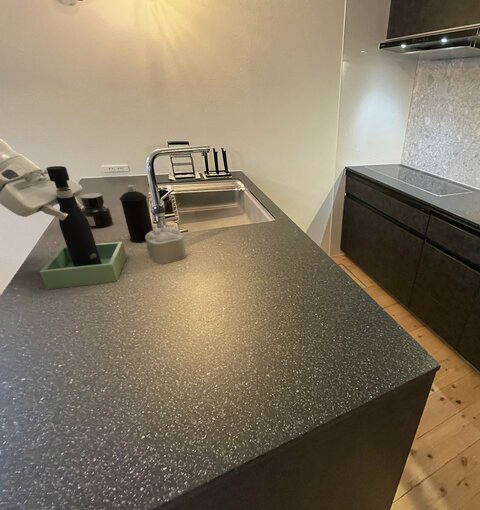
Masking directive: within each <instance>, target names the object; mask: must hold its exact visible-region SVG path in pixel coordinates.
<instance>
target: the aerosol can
mask: <svg viewBox="0 0 480 510" xmlns="http://www.w3.org/2000/svg"><path fill="white" fill-rule="evenodd" d="M135 188H136V187H135V185H133V184H129V185H127V190H128V191H127V192H124V193H123V194H122V195H121V196H120V197H119V201H120V203H121V207H122V211H123V214H124V219H125V223H126V227H127V230H128V235H129V241H130V242H131V243H132V242H133V243H138V242H139V243H146V239H145V236H146V235H147V234H148V233H149V232H150V231H153V230H154V228H153V223H152V218H151V214H150V209H149V205H148V199H147V198H148V196H147V195H145V194H144V193H142V192H140V191H136V189H135Z"/></svg>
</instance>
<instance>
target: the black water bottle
mask: <svg viewBox="0 0 480 510" xmlns="http://www.w3.org/2000/svg"><path fill="white" fill-rule="evenodd" d="M45 170H47V172H48V175H49V178H50V181H52V182H55V185H56V188H57V189H58V190H56V193H57V196H58V197H57V200H58V203H59V204H58V206H59V211H65V212H66V213H68V214H69V216H68V217H67V218H66V219H64V220H60V219H59V218H58V222H59V224H58V225H59V228H60V231H61V234H62V237H63V240H64V241H65V242H64V243H65V246H67V248H68V251H69V254H70V257H71V259H72V262H73V265H74V267H79V266H88V265H98V264H102V263H101V260H100V256H99V253H98V250H97V247H96V244H97V243H96V239H95V237H94V234H93V230H92V228H91V227H90V224H89V221H88V219H87V218H86V216H85V214H84V213H83V212H82V210H81V209H80V208H79V207H78V205H77V202H76V199H75V196H74V195H73V193H72V191H71V189H68V188H69V186H68V183H67V181H68V180H70V179H69V178H70V176H69V173H68V168H67V167H66V166H61V165H58V166H57V165H55V166H54V165H53V166H47V167H46V168H45Z"/></svg>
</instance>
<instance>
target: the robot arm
mask: <svg viewBox="0 0 480 510" xmlns="http://www.w3.org/2000/svg"><path fill="white" fill-rule="evenodd" d="M69 179H70V180H68V181H67V183H68V186H69V188H68V189H71V191H72V193H73V195H74V196H75V199H76V202H77V205H78V207H79V208H80V209H81V210H82V211H83V209H84V206H83V204H82V203H80V201H79V199H78V198H77V197H78V196H79V195H80V194H81V192H82V191H83V187H82V185H81V184H79V183H78V182H77V181H75V180H73V179H72V178H71V177H69ZM56 190H58V189H57V188H56V185H55V182H52V181H50V178H49V175H48V172H47V169H45V170H44V169H42V168H41V167H39V165H37V164H35V163H34V162H33V161H31V160H30V159H29V158H28V157H27V156H25V155H23V154H21V153H19V152H17V151H15V150H14V148H13V149H12V147H11V146H10V144H8V143H7V142H6V141H5V140H3V139H2V138H0V205H2V206H3V207H4V208H5V209H7V210H8V211H10V212H11V213H13V214H15V215H17V216H20V217H23V218H27V217H29V216H33V215H35V214H36V213H39V212H42V213H44V214H46V215H50V216H52V217H55V218H57V219H58V220H59V219H60V220H64V219H66V218H67V217H68V216H69V214H68V213H66V212H65V211H60V209H57V208H55V207H54V206H56V205H59V203H58V200H57V197H58V196H57V193H56Z"/></svg>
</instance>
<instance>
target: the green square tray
mask: <svg viewBox="0 0 480 510" xmlns="http://www.w3.org/2000/svg"><path fill="white" fill-rule="evenodd" d="M96 247H97V250H98V253H99V256H100V260H101V263H102V264H98V265H88V266H79V267H74V265H73V262H72V259H71V257H70V254H69V251H68V248H67V245H65V246H59V248H58V250H56V252H55V253H54V254H53V255H52V257H50V259H49V260H48V261H47V262H46V264H45V265H44V266H43V268H42V269H40V271H39V274H40V277H41V279H42V281H43V284H44V285H45V288H46V290H47V291H48V290H55V289H56V290H57V289H63V288H72V287H73V288H74V287H80V286H88V285H89V286H90V285H96V284H105V283H113V282H114V283H115V282H118V280H119V278H120V275H121V272H122V269H123V267H124V265H125V262H126V260H127V257H128V256H127V253H126V250H125V245H124V242H123V241H115V242H104V243H103V242H101V243H96Z"/></svg>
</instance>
